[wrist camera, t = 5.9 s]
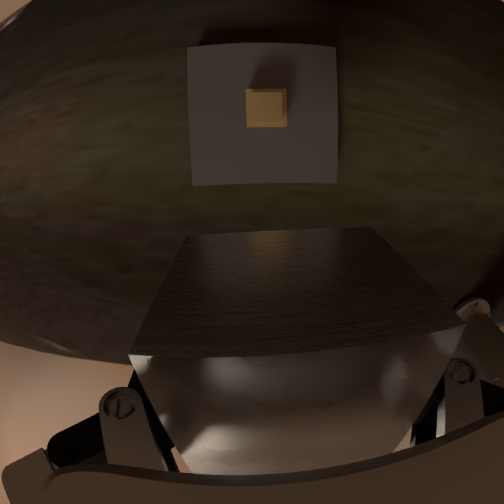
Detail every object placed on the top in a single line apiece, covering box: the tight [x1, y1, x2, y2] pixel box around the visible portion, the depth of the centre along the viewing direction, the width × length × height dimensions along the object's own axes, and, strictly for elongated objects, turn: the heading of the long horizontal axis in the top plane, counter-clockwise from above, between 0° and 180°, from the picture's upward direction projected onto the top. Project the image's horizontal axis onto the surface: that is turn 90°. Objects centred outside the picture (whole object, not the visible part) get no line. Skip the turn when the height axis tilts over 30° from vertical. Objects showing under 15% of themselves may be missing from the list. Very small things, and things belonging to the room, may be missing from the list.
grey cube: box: [128, 227, 466, 475], centre depth 9 cm, size 7×7×6 cm
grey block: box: [187, 43, 338, 186], centre depth 22 cm, size 13×13×7 cm
